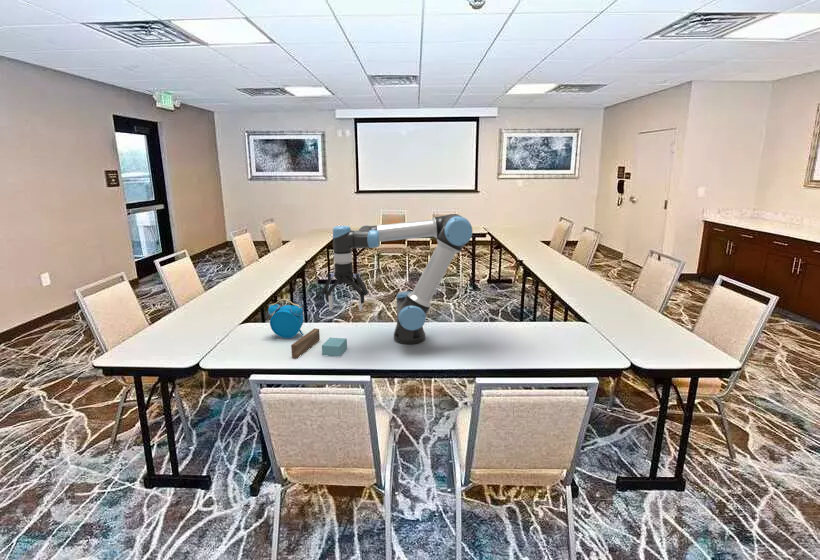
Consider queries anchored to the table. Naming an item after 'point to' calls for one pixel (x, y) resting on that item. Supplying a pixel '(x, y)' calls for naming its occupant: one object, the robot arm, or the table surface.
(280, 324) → the alarm clock
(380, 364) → the table surface
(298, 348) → the board
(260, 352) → the table surface
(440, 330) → the table surface
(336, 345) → the block
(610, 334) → the table surface
